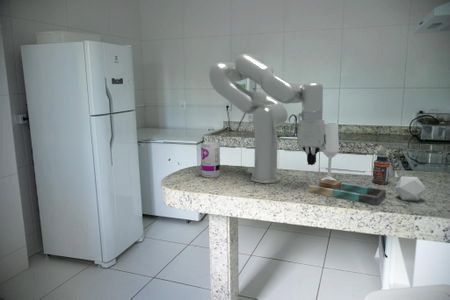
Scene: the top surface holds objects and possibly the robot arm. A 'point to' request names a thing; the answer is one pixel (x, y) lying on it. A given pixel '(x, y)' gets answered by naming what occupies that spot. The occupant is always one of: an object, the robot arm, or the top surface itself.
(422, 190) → the die
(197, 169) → the top surface
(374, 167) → the supplement bottle
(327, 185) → the walnut block
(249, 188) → the top surface
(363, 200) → the tray
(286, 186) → the top surface
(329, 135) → the champagne flute
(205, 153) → the supplement can
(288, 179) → the top surface
